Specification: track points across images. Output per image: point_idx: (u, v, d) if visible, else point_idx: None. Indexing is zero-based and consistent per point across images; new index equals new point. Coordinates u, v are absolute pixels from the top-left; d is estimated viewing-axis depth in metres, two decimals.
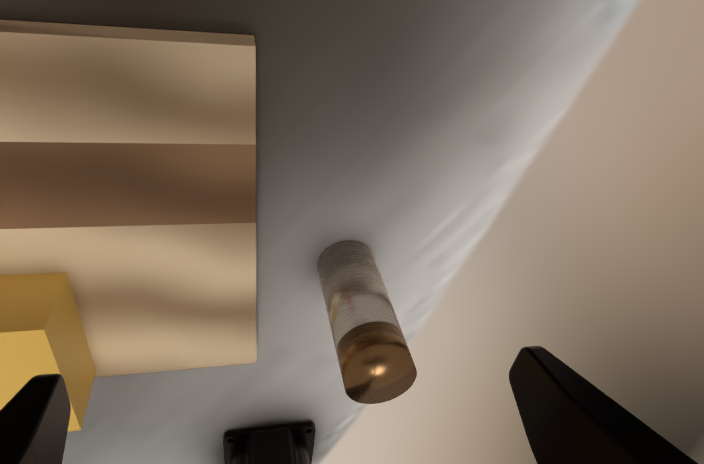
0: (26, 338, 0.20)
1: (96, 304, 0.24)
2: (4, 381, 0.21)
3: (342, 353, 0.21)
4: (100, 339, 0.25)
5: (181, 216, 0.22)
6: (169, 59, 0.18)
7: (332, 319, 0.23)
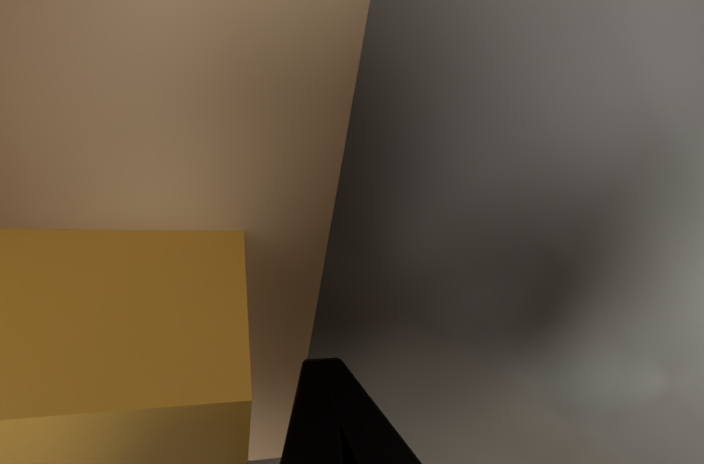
0: None
1: None
2: None
3: None
4: (158, 198, 0.08)
5: None
6: None
7: None
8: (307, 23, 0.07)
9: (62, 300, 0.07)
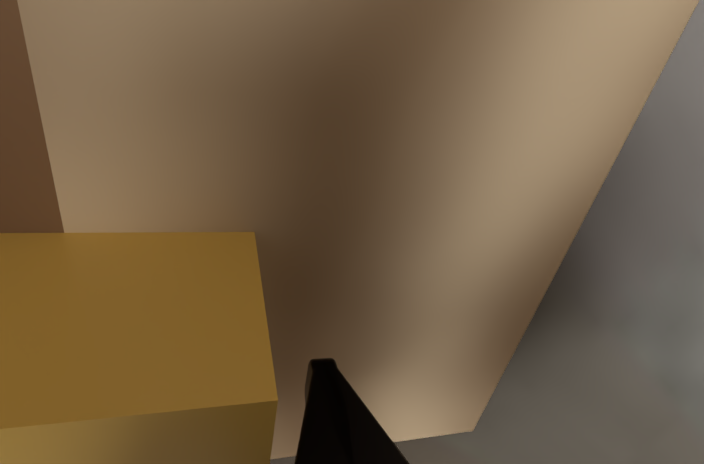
0: None
1: (348, 194, 0.09)
2: None
3: None
4: (467, 207, 0.10)
5: None
6: None
7: None
8: (625, 65, 0.08)
9: (80, 304, 0.07)
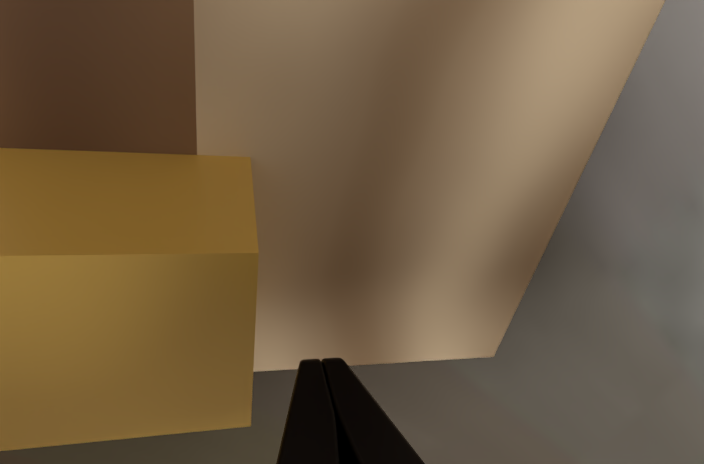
0: None
1: (402, 130, 0.11)
2: (13, 354, 0.08)
3: None
4: (494, 145, 0.12)
5: None
6: None
7: None
8: (618, 31, 0.11)
9: (118, 193, 0.09)
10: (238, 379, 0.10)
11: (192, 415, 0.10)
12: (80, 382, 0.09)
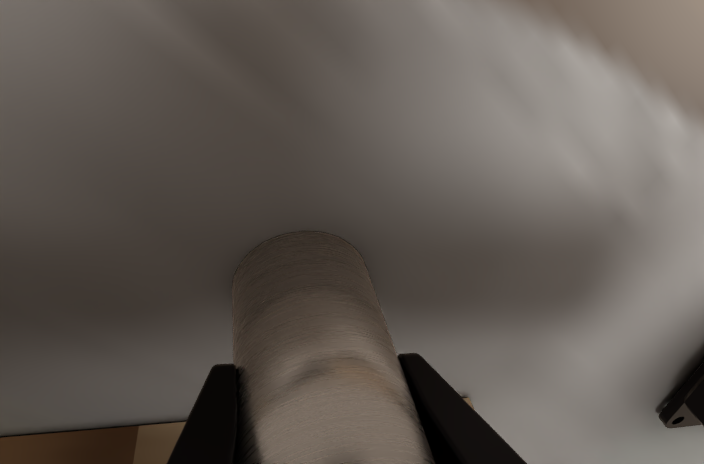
0: None
1: None
2: None
3: None
4: None
5: None
6: None
7: None
8: None
9: None
10: None
11: None
12: None
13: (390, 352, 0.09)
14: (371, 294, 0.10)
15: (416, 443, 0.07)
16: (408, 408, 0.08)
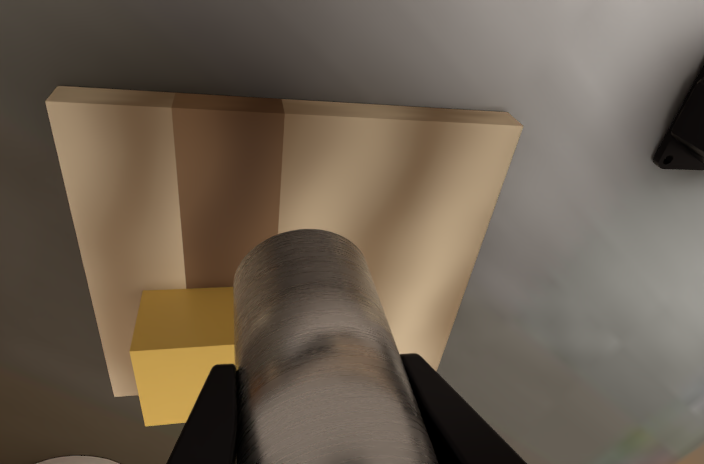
0: (143, 362, 0.19)
1: (371, 268, 0.24)
2: None
3: None
4: (418, 270, 0.24)
5: (269, 188, 0.20)
6: (82, 182, 0.18)
7: None
8: (473, 221, 0.23)
9: None
10: None
11: None
12: None
13: (392, 350, 0.09)
14: (373, 292, 0.10)
15: (418, 441, 0.07)
16: (410, 406, 0.08)
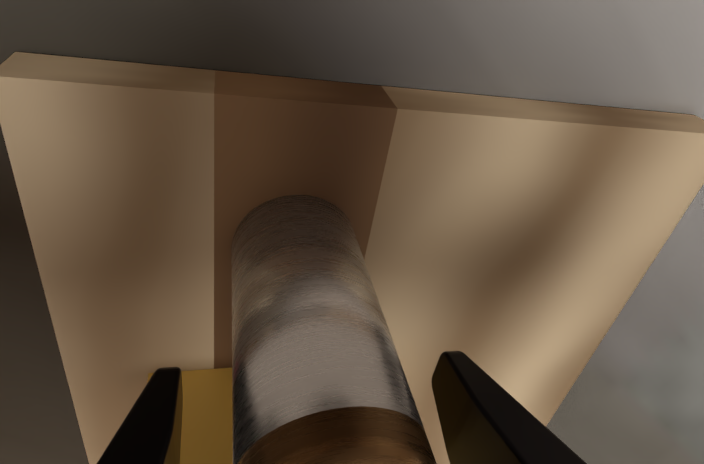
0: None
1: (477, 334, 0.16)
2: None
3: None
4: (538, 335, 0.17)
5: (355, 226, 0.13)
6: (57, 216, 0.11)
7: None
8: (626, 270, 0.16)
9: None
10: None
11: None
12: None
13: (371, 294, 0.10)
14: (356, 249, 0.11)
15: (390, 362, 0.08)
16: (384, 336, 0.09)
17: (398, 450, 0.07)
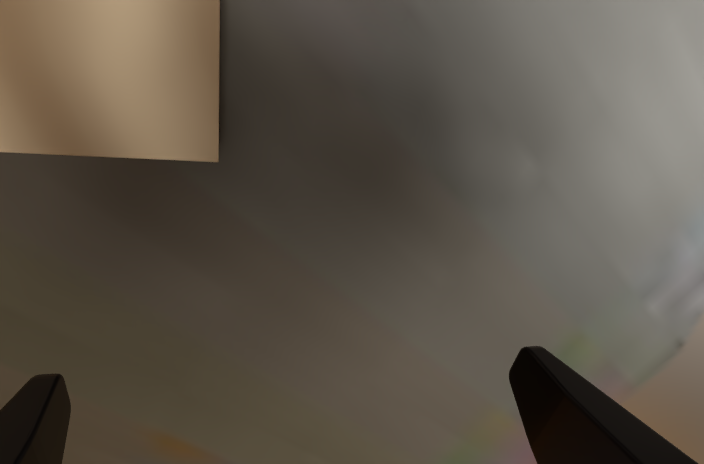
0: None
1: None
2: None
3: None
4: None
5: None
6: None
7: None
8: None
9: None
10: None
11: None
12: None
13: None
14: None
15: None
16: None
17: None
